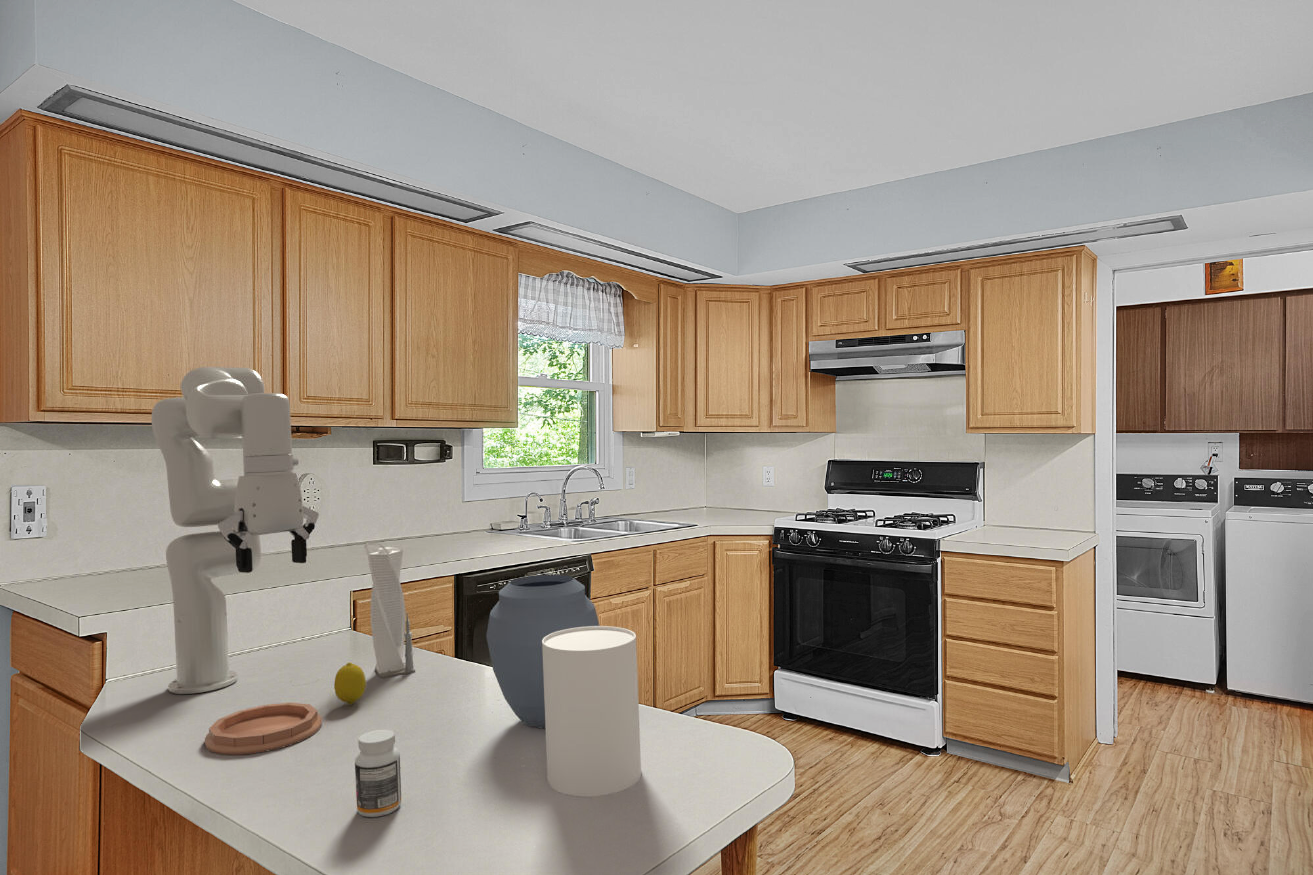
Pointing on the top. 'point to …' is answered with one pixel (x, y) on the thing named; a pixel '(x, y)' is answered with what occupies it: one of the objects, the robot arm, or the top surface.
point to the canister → (591, 710)
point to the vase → (532, 636)
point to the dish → (262, 728)
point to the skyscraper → (389, 613)
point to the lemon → (349, 683)
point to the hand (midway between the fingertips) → (273, 567)
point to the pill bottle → (377, 774)
